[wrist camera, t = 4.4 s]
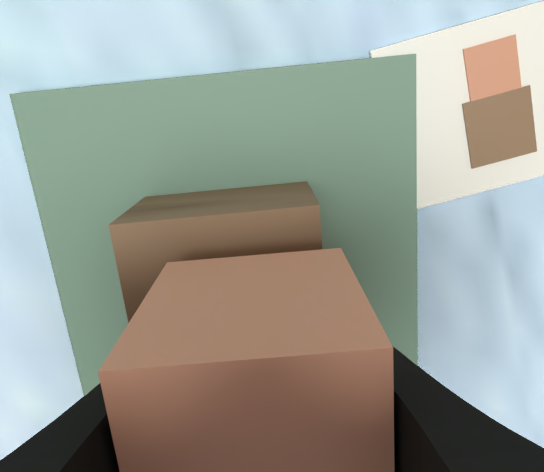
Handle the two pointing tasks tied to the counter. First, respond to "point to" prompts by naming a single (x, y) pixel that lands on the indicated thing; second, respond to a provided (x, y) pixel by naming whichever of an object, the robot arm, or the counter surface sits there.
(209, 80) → the plate
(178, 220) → the walnut brick
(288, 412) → the terracotta brick
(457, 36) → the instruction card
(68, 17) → the counter surface
